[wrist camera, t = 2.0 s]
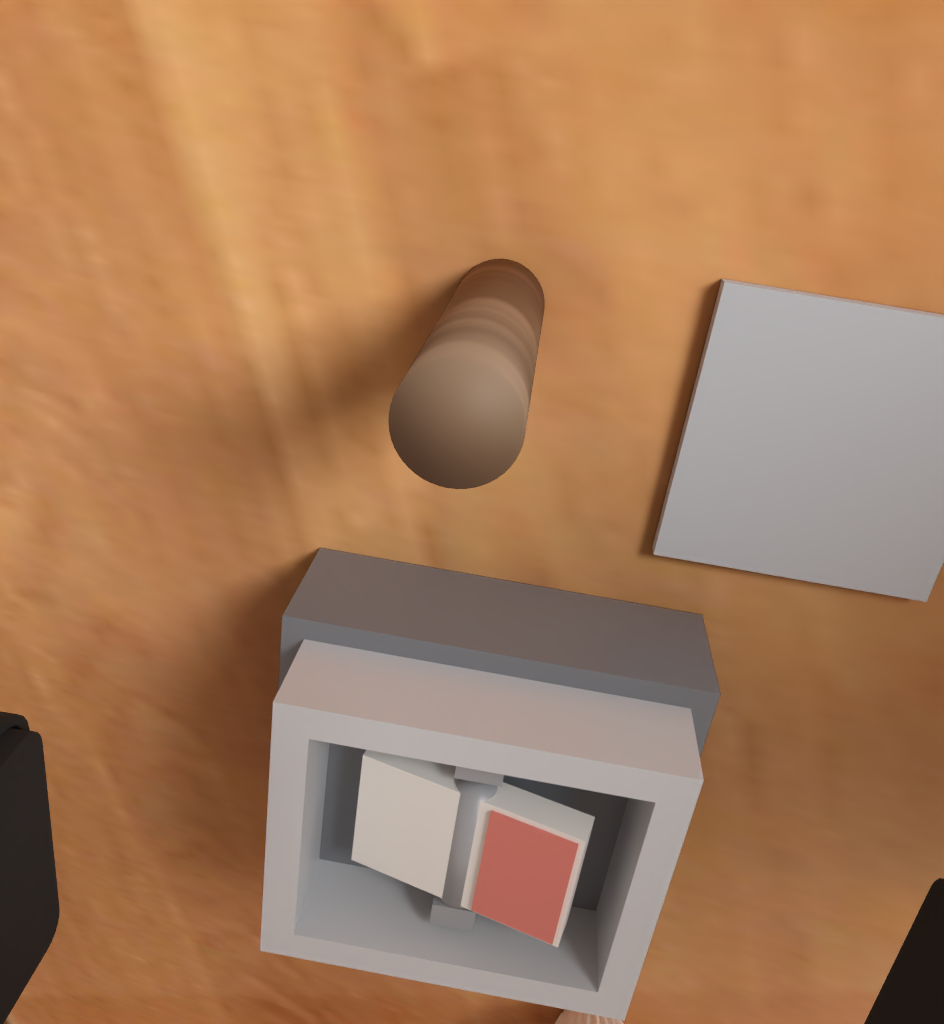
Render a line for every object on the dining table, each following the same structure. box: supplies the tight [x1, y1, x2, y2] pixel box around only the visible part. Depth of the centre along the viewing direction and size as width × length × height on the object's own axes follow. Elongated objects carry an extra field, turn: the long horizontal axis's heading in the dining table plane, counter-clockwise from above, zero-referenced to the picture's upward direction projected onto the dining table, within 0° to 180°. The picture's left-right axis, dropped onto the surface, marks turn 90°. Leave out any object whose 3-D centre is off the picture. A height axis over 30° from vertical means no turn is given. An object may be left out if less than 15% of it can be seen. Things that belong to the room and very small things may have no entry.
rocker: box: [351, 750, 595, 947], centre depth 31 cm, size 5×8×1 cm, turn 82°
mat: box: [652, 279, 944, 602], centre depth 31 cm, size 10×10×1 cm
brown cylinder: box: [389, 259, 545, 489], centre depth 25 cm, size 3×3×12 cm
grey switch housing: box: [260, 548, 720, 1021], centre depth 34 cm, size 13×15×8 cm
